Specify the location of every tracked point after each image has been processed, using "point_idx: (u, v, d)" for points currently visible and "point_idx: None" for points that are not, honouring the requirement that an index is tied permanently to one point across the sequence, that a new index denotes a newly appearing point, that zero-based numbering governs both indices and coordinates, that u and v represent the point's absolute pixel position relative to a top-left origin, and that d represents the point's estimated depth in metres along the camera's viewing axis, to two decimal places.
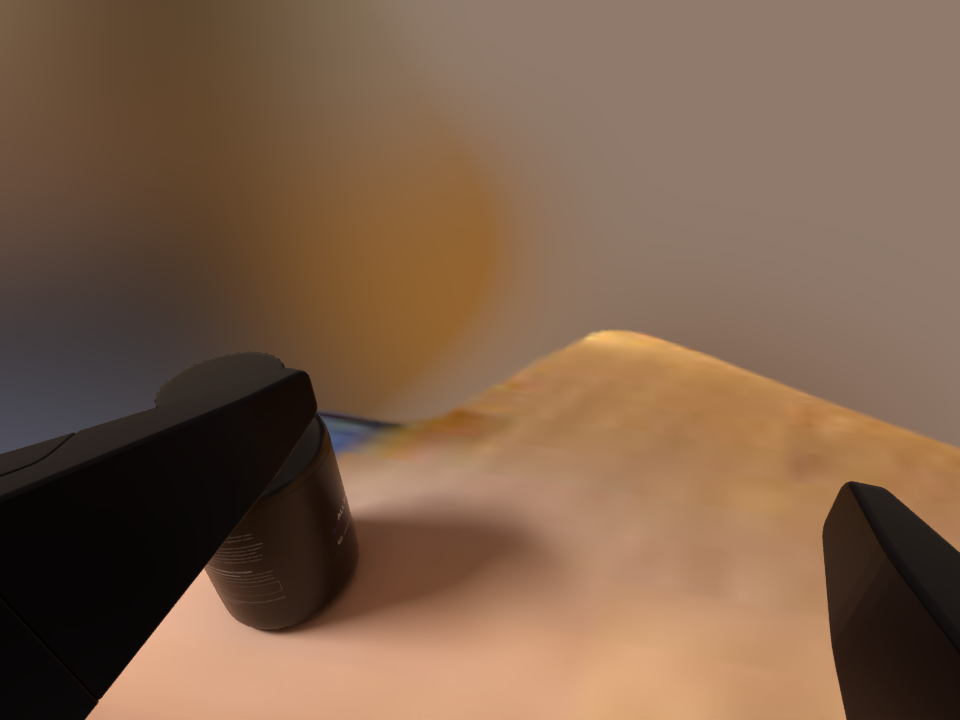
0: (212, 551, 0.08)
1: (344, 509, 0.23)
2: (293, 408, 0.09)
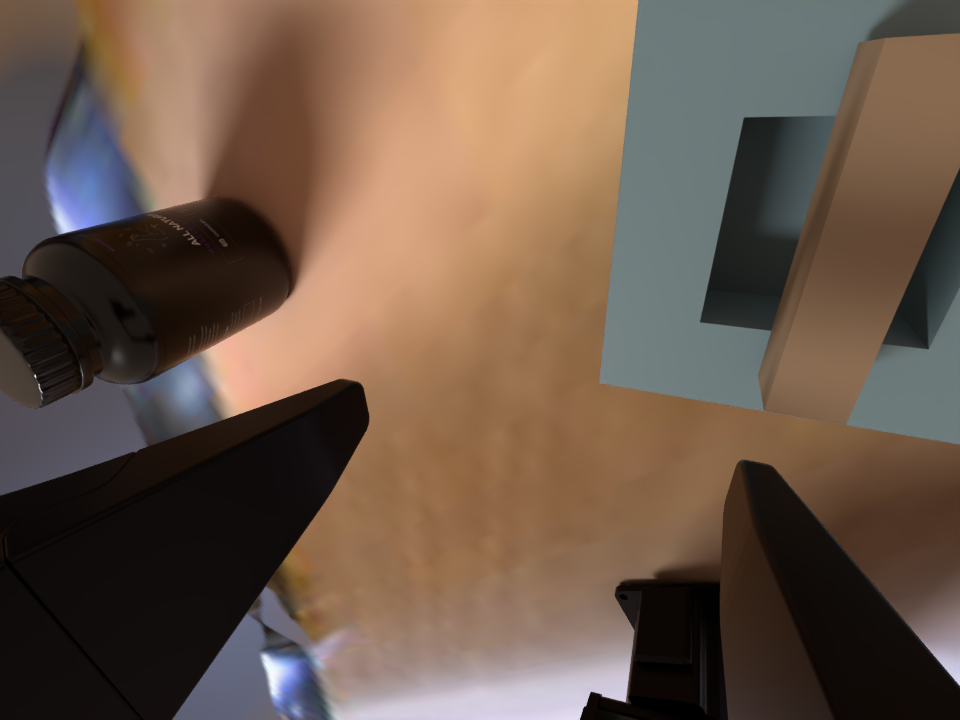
0: (269, 574, 0.08)
1: (189, 230, 0.21)
2: (348, 421, 0.09)
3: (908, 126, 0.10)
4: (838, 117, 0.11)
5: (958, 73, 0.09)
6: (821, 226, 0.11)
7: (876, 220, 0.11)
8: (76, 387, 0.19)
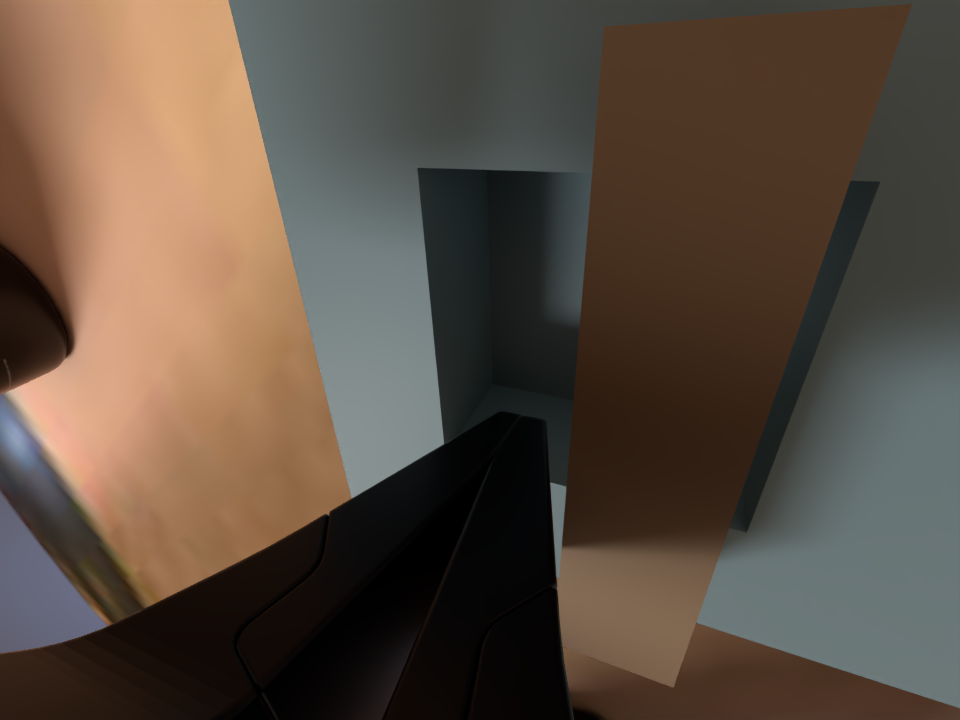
0: None
1: None
2: None
3: (685, 230, 0.04)
4: None
5: (775, 114, 0.04)
6: None
7: (660, 399, 0.05)
8: None
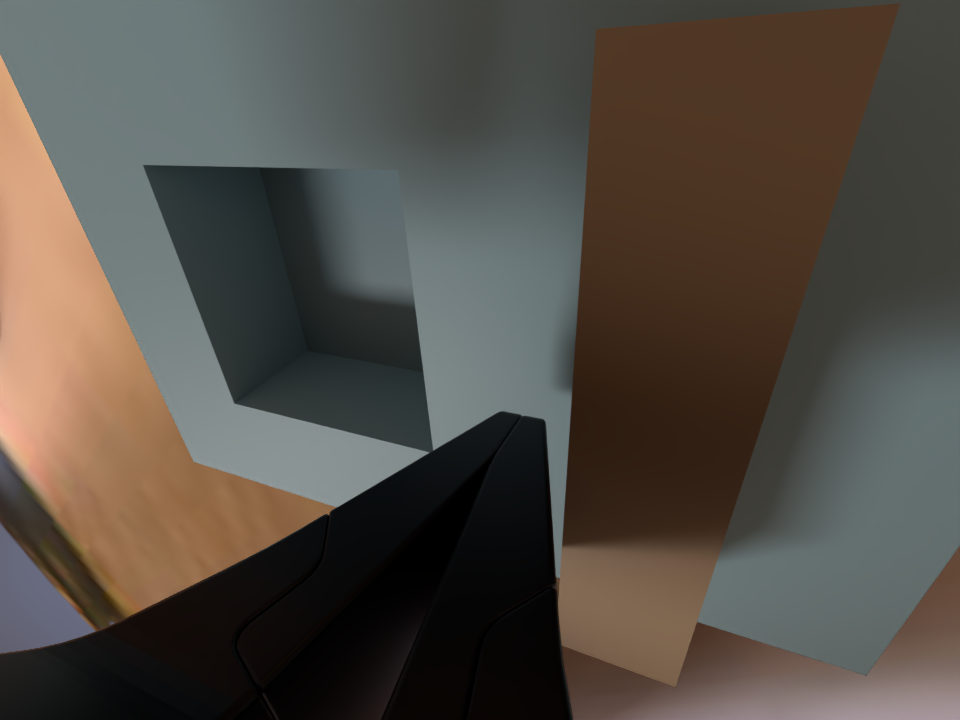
0: None
1: None
2: None
3: (680, 229, 0.04)
4: None
5: (766, 114, 0.04)
6: None
7: (657, 399, 0.05)
8: None
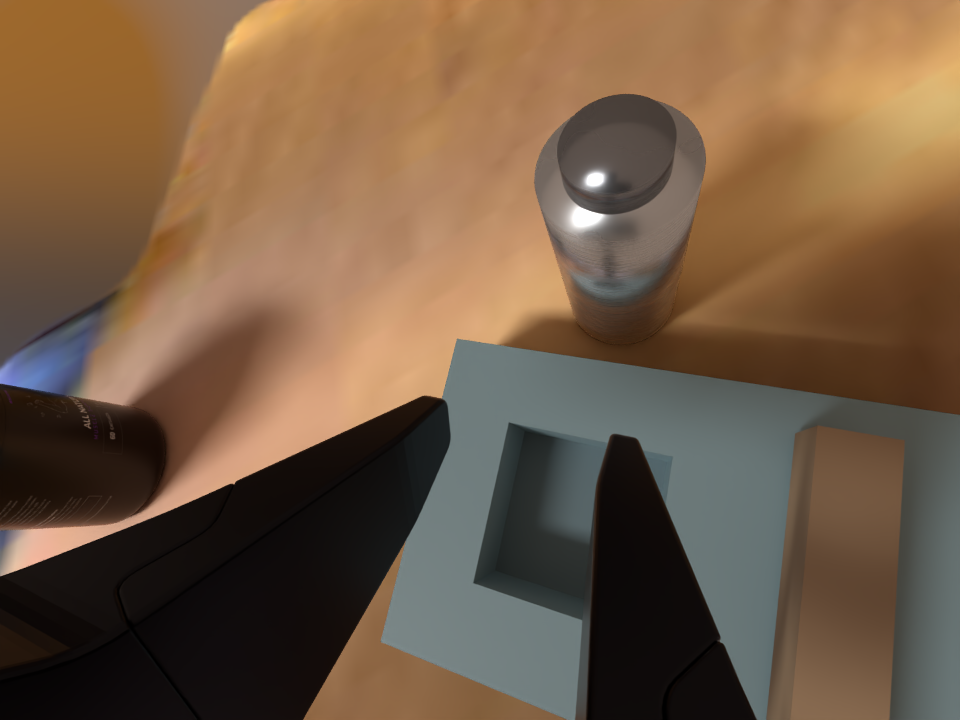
0: (362, 611, 0.07)
1: (90, 416, 0.24)
2: (434, 442, 0.08)
3: (851, 488, 0.13)
4: (792, 480, 0.15)
5: (874, 458, 0.13)
6: (802, 560, 0.13)
7: (848, 562, 0.12)
8: None
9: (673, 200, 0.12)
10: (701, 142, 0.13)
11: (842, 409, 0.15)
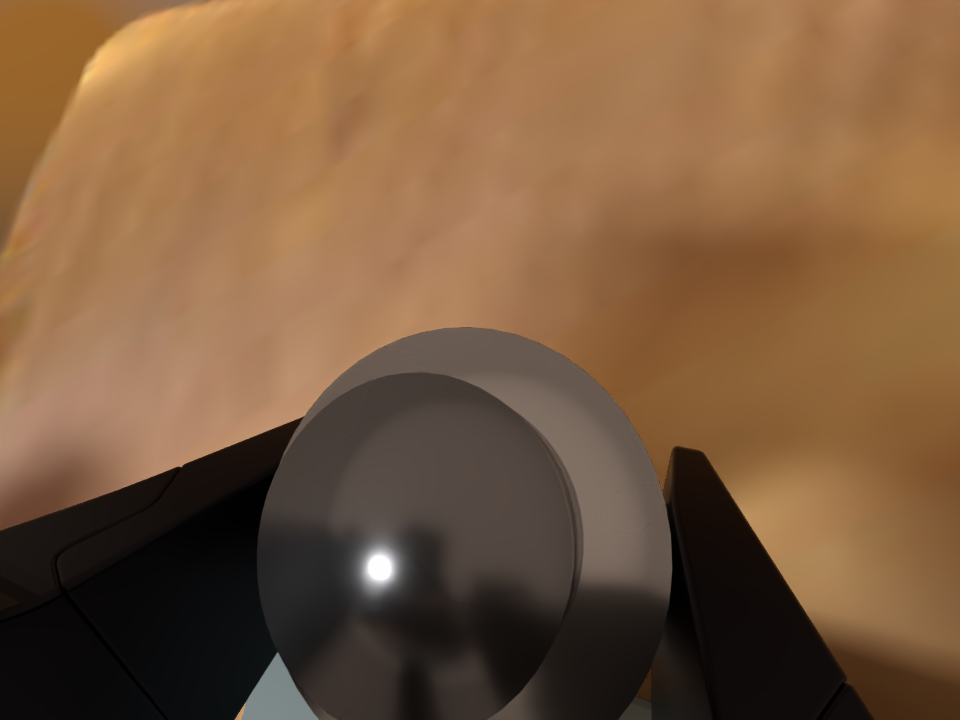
0: None
1: None
2: None
3: None
4: None
5: None
6: None
7: None
8: None
9: (579, 690, 0.04)
10: (661, 493, 0.05)
11: None
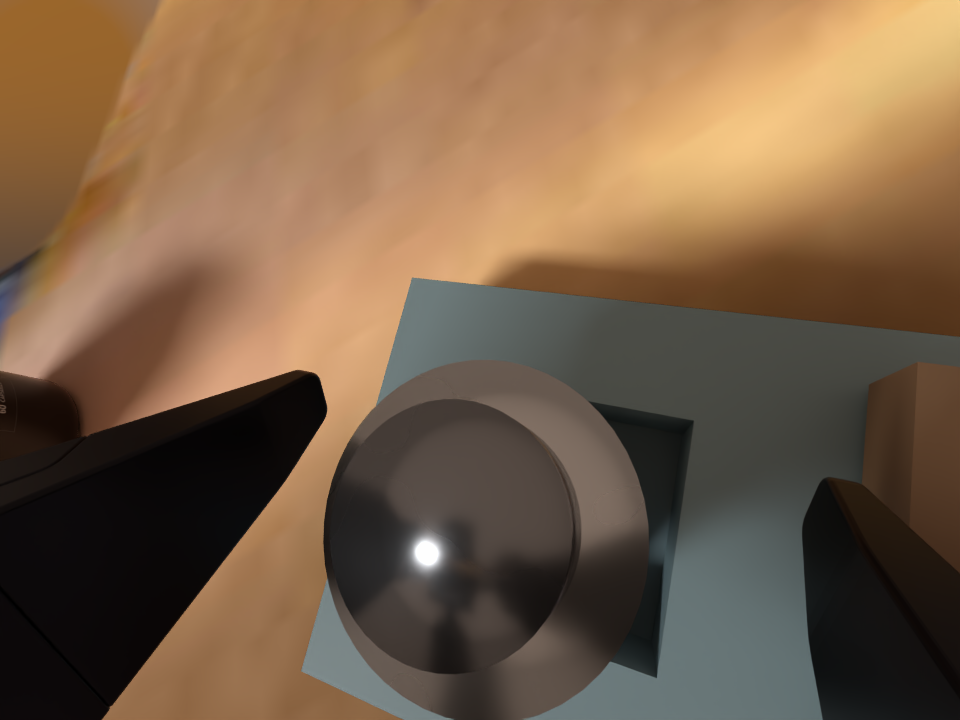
0: (222, 555, 0.08)
1: None
2: (303, 411, 0.09)
3: None
4: (869, 448, 0.10)
5: None
6: None
7: None
8: None
9: (577, 644, 0.06)
10: (642, 493, 0.06)
11: (935, 350, 0.11)
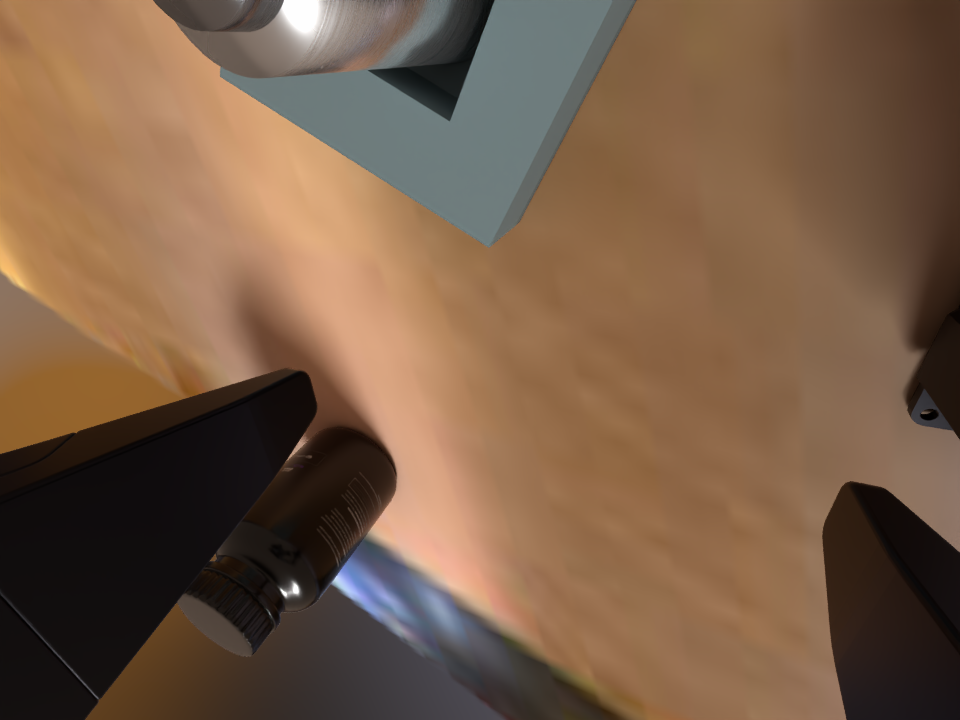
0: (212, 551, 0.08)
1: (286, 466, 0.28)
2: (293, 408, 0.09)
3: None
4: None
5: None
6: None
7: None
8: (266, 615, 0.23)
9: None
10: None
11: None
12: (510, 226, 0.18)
